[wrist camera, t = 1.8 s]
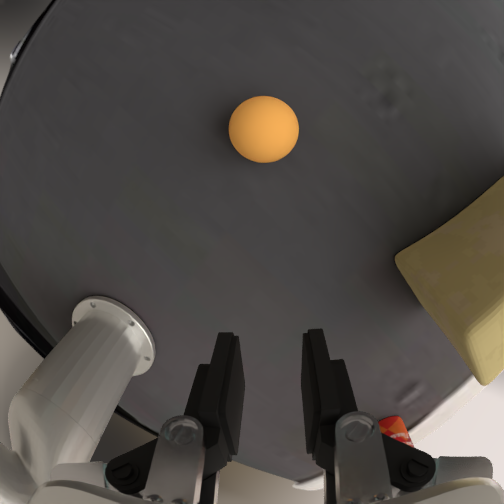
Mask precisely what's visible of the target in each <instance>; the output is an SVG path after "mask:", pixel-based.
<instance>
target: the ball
mask: <svg viewBox="0 0 504 504" xmlns="http://www.w3.org/2000/svg"><path fill="white" fill-rule="evenodd" d="M298 134H299V126H298V121H297V118H296V115H295V114H294V112H293V111H292V109H291V108H290V107H289V106H288V105H287V104H286V103H284V102H283V101H281V100H279V99H277V98H274V97H269V96H257V97H253V98H250V99H248V100H246V101H244V102H243V103H241V104H240V105H239V106H238V107H237V108H236V109H235V111H234V112H233V114H232V116H231V119H230V122H229V136H230V140H231V142H232V144H233V146H234V147H235V149H236V150H237V151H238V152H239V153H240V154H241V155H242V156H244V157H245V158H247V159H249V160H252V161H255V162H260V163H268V162H273V161H276V160H279V159H281V158H283V157H284V156H286V155H287V154H288V153H289V152H290V151H291V150H292V149H293V147H294V146H295V144H296V141H297V138H298Z"/></svg>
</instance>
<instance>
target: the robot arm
mask: <svg viewBox="0 0 504 504" xmlns="http://www.w3.org/2000/svg"><path fill="white" fill-rule="evenodd" d="M155 354H156V349H155V343H154V340H153V337H152V335H151V333H150V331H149V329H148V328H147V327H146V325H145V324H144V322H143V321H142V320H141V319H140V318H139V317H138V316H137V315H136V314H135V313H134V312H133V311H131V310H130V309H129V308H128V307H126V306H125V305H123V304H121V303H120V302H118V301H115V300H113V299H111V298H107V297H104V296H91V297H87V298H85V299H83V300H82V301H81V302H80V303H79V304H78V305H77V306H76V307H75V309H74V311H73V314H72V329H71V330H70V331H69V332H68V333H67V334H66V335H65V336H64V337H63V339H62V340H61V341H60V342H59V343H58V344H57V345H56V346H55V348H54V349H53V350H52V351H51V352H50V353H49V354H48V356H47V357H46V358H45V359H44V360H43V362H42V363H41V364H40V365H39V366H38V368H37V369H36V370H35V371H34V372H33V374H32V375H31V376H30V377H29V379H28V380H27V381H26V382H25V383H24V385H23V386H22V388H21V389H20V390H19V391H18V392H17V394H16V395H15V397H14V398H13V400H12V402H11V404H10V408H9V415H8V421H9V430H10V438H11V444H12V450H10V449H8V448H7V447H6V446H5V445H3V444H2V443H1V442H0V504H217V497H218V485H219V474H220V469H222V468H223V467H225V466H226V465H227V462H231V461H232V455H237V453H238V446H239V437H240V428H241V419H242V410H243V401H244V392H245V380H244V373H243V365H242V358H241V351H240V343H239V337H238V336H234V334H233V332H219V333H218V336H217V340H216V344H215V348H214V352H213V355H212V359H211V363H210V364H200V365H199V366H198V369H197V372H196V376H195V379H194V382H193V386H192V389H191V392H190V396H189V399H188V402H187V406H186V409H185V412H184V415H180V416H175V417H172V418H170V419H169V420H167V421H166V422H165V423H164V424H163V426H162V428H161V430H160V433H159V437H158V438H156V439H154V440H152V441H150V442H148V443H146V444H144V445H142V446H140V447H138V448H136V449H134V450H131V451H129V452H127V453H125V454H123V455H120V456H118V457H116V458H114V459H112V460H111V461H110V462H109V463H106V464H104V463H103V462H89V461H90V459H91V457H92V455H93V453H94V451H95V448H96V446H97V444H98V442H99V440H100V438H101V436H102V434H103V432H104V430H105V428H106V426H107V424H108V422H109V420H110V418H111V416H112V414H113V412H114V410H115V408H116V406H117V404H118V402H119V400H120V398H121V396H122V394H123V392H124V390H125V389H126V387H127V385H128V383H129V381H130V379H131V377H132V376H135V375H140V374H143V373H145V372H146V371H147V370H149V368H150V367H151V365H152V363H153V361H154V359H155ZM301 390H302V401H303V412H304V424H305V436H306V450H307V454H310V453H312V458H313V460H316V464H317V465H318V466H320V467H321V468H323V469H324V504H504V490H503V489H502V487H501V486H500V485H499V484H498V483H497V482H496V481H495V480H493V479H492V475H493V474H492V473H493V467H492V463H491V462H490V460H489V459H487V458H486V457H445V456H440V457H439V458H438V459H437V458H432V457H431V456H430V455H429V454H427V453H425V452H423V451H421V450H418V449H416V448H414V447H411V446H409V445H407V444H405V443H403V442H400V441H398V440H396V439H394V438H392V437H390V436H388V435H386V434H384V433H381V431H380V426H379V423H378V421H377V420H376V419H375V418H374V416H372V415H370V414H369V413H366V412H362V411H358V409H357V406H356V402H355V398H354V394H353V391H352V387H351V383H350V380H349V376H348V373H347V369H346V366H345V362H344V360H343V359H339V360H330V357H329V353H328V349H327V345H326V341H325V337H324V333H323V329H309V330H308V333H303V346H302V371H301Z"/></svg>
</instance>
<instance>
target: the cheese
mask: <svg viewBox="0 0 504 504" xmlns="http://www.w3.org/2000/svg"><path fill="white" fill-rule="evenodd" d="M395 263H396V265H397V267H398V269H399V270H400V272H401V274H402V275H403V277H404V278H405V280H406V281H407V283H408V284H409V286H410V287H411V289H412V291H413V292H414V294H415V295H416V297H417V298H418V300H419V302H420V303H421V305H422V306H423V307H424V308H425V310H426V311H427V312H428V313H429V315H430V316H431V317H432V318H433V320H434V321H435V322H436V324H437V325H438V326H439V327H440V329H441V330H442V331H443V333H444V334H445V335H446V337H447V338H448V339H449V341H450V342H451V343H452V345H453V346H454V348H455V349H456V350H457V352H458V353H459V355H460V356H461V357H462V359H463V360H464V362H465V363H466V365H467V366H468V367H469V369H470V370H471V372H472V373H473V375H474V376H475V378H476V379H477V381H478V382H479V383H480V384H481V385H483V386H486V385H488V384H489V383H490V382H492V381H493V380H494V379H495V378H496V377H497V376H498V375H499V373H500V372H501V371H502V370H503V369H504V176H503V177H502V178H500V179H499V180H498V181H497V182H496V183H495V184H494V185H493V186H491V187H490V188H489V189H488V190H487V191H486V192H484V193H483V194H482V195H481V196H480V197H479V198H477V199H476V200H475V201H474V202H473V203H472V204H470V205H469V206H468V207H467V208H465V209H464V210H463V211H461V212H460V213H459V214H458V215H456V216H455V217H454V218H452V219H451V220H450V221H448V222H447V223H445V224H444V225H442V226H441V227H440V228H438V229H437V230H435V231H434V232H432V233H430V234H429V235H427V236H426V237H424V238H422V239H421V240H419V241H417V242H416V243H414V244H412V245H411V246H409V247H407V248H406V249H404V250H402V251H400V252H399V253H398V254H397V255H396V256H395Z"/></svg>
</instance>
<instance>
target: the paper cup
mask: <svg viewBox="0 0 504 504" xmlns="http://www.w3.org/2000/svg"><path fill="white" fill-rule="evenodd" d="M378 423H379V426H380V431H381V433H384V434H386V435H388V436H390V437H392V438H394V439H396V440H398V441H400V442H403V443H405V444H407V445H409V446H411V447H414V445H413V443H412V441H411V438H410V436H409V434H408V432H407V429H406V427H405V425H404V423H403V421H402V419H401V418H400V417H399V416H391V417H387V418H385V419H382V420H381V421H379V422H378Z"/></svg>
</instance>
